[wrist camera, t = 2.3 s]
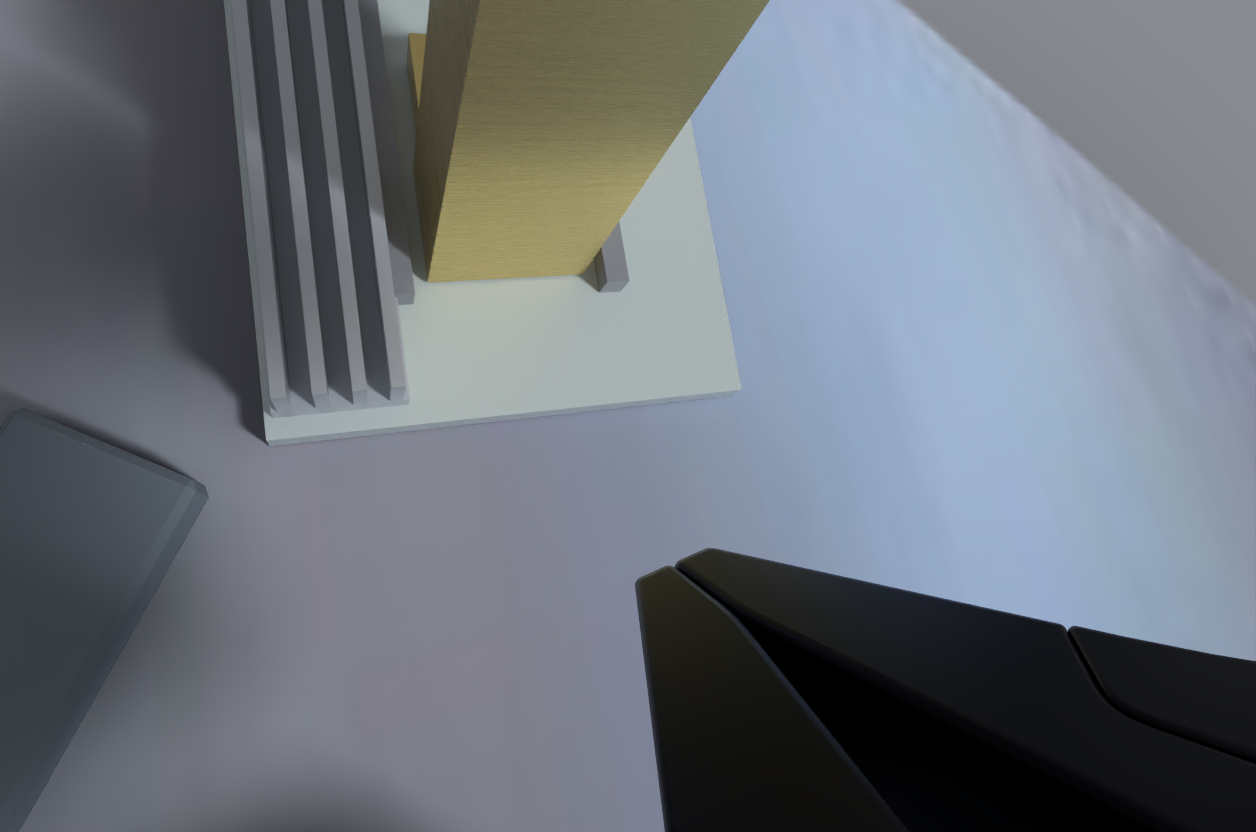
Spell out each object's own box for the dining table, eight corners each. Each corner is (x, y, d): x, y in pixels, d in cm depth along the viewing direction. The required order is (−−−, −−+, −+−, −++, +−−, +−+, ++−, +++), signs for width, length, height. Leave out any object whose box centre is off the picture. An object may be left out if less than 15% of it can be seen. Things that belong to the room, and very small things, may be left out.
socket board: (729, 396, 23) (797, 360, 19) (270, 446, 19) (245, 413, 15) (636, -101, 25) (681, -217, 22) (212, -146, 21) (180, -295, 18)
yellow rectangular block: (582, 274, 21) (780, -15, 11) (427, 282, 20) (486, -37, 10) (548, 66, 22) (702, -380, 12) (398, 62, 21) (424, -444, 11)
